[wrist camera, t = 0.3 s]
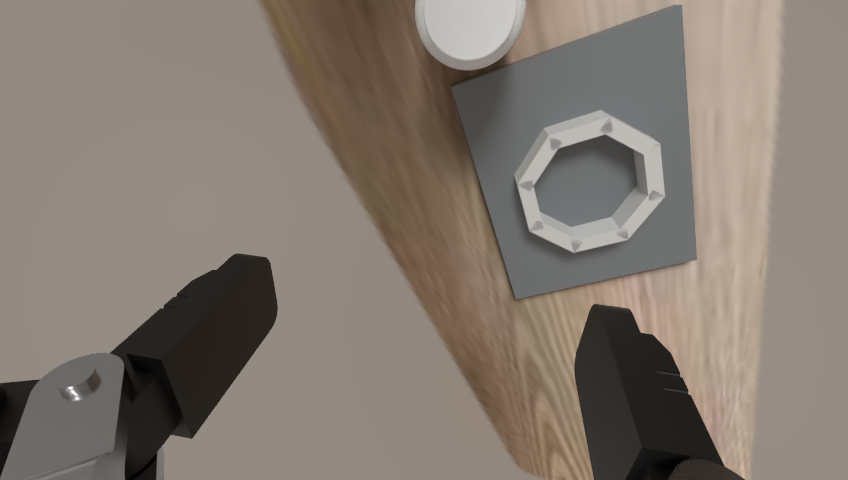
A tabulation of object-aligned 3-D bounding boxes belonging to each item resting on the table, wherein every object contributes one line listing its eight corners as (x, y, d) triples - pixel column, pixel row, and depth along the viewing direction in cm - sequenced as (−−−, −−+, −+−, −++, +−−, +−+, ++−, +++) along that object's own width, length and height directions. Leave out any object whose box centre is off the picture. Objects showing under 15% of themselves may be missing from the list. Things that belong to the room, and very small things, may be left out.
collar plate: (451, 85, 28) (449, 92, 25) (673, 5, 25) (698, 4, 22) (514, 292, 36) (518, 314, 33) (690, 253, 32) (710, 274, 30)
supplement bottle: (457, 76, 28) (453, 103, 19) (408, 2, 26) (380, -4, 17) (528, 21, 26) (559, 26, 17) (481, -63, 24) (490, -104, 15)
